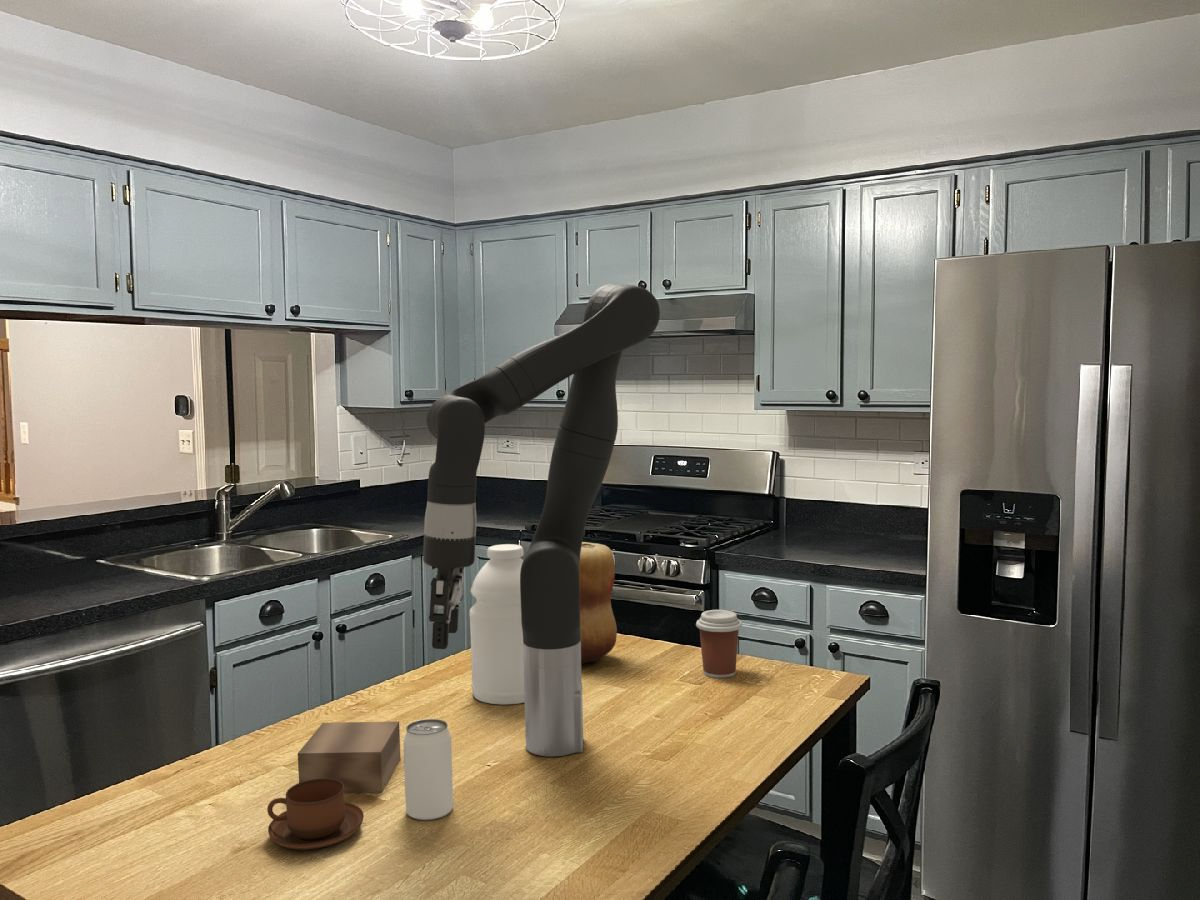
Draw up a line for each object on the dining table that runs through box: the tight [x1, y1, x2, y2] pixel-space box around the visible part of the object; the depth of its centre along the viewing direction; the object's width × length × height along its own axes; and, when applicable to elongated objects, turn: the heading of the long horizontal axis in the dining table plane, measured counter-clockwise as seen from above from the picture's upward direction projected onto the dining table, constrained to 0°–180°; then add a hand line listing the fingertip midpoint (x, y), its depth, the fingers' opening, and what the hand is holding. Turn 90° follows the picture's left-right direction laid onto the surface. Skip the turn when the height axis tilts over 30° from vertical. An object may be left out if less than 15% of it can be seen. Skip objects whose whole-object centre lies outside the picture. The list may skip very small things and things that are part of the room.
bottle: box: [468, 543, 525, 706], centre depth 175 cm, size 14×14×28 cm
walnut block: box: [297, 721, 402, 794], centre depth 141 cm, size 12×12×6 cm
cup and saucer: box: [266, 778, 365, 851], centre depth 122 cm, size 12×12×6 cm
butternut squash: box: [579, 541, 618, 665], centre depth 194 cm, size 14×13×25 cm
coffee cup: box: [695, 609, 743, 679], centre depth 186 cm, size 9×9×12 cm
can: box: [402, 718, 454, 822], centre depth 128 cm, size 6×6×12 cm
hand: (445, 640), depth 138 cm, fingers open, 8 cm apart
